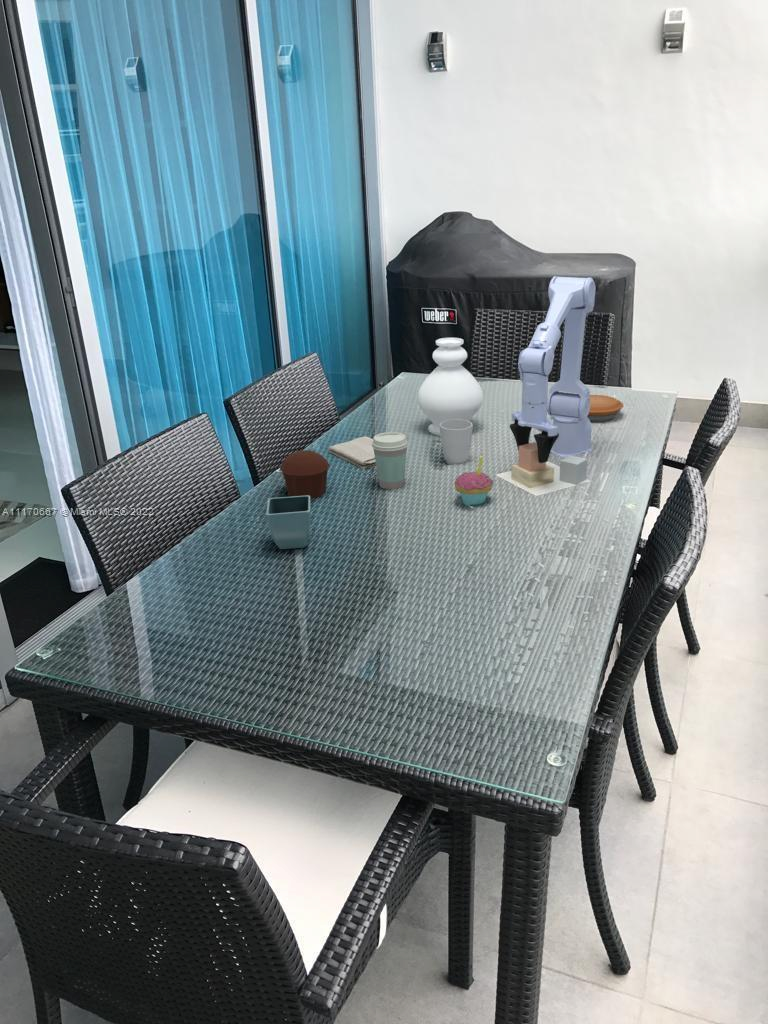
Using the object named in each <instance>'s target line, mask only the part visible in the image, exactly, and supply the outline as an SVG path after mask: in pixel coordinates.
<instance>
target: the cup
mask: <svg viewBox="0 0 768 1024" xmlns="http://www.w3.org/2000/svg"><path fill="white" fill-rule="evenodd" d="M472 425H473V422H472V421H471V420H470V421H467V420H460V419H454V420H447V421H443V422H441V423H440V435H441V436H440V442H441V443H440V444H441V447H442V452H443V456H444V460H445V462H446V464H447V465H449V466H451V465H458V464H464V463H466V462H467V461H468V458H469V455H470V453H471V452H470V451H471V445H472V438H473V437H472V435H473V430H472Z"/></svg>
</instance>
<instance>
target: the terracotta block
mask: <svg viewBox="0 0 768 1024" xmlns="http://www.w3.org/2000/svg"><path fill="white" fill-rule="evenodd" d="M517 457H518V462H517V464H518V466H519V467H521V468H523V469H525V470H527V471H530V472H531V471H535V470H539V469H543V468H546V462H544V463H539V461H538V448H537V443H536V441H534V442H529V444H525V445H521V446H519V452H518V456H517Z"/></svg>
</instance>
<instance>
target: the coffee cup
mask: <svg viewBox="0 0 768 1024" xmlns="http://www.w3.org/2000/svg"><path fill="white" fill-rule="evenodd" d="M406 437H407V436H406V435H405V434H404V433H401V432H398V431H397V432H396V431H391V432H390V431H387V432H381V433H377V434H375V435H374V436H373V438H372V439H373V442H372V447H373V449H374V455H375V461H376V471H377V478H378V483H379V484H378V485H379V486H380V487H381V488H382V489H385V490H386V489H387V490H395V489H397V490H398V489H400V488H402V487H404V484H405V473H406V463H407V462H406V461H407V450H408V449H407V448H408V446H409V443H408V440H407V438H406Z"/></svg>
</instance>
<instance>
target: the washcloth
mask: <svg viewBox="0 0 768 1024" xmlns="http://www.w3.org/2000/svg"><path fill="white" fill-rule="evenodd" d="M373 439H374V438H371V437H368V436H362V437H361V436H360V437H357V438H356V437H355V438H354V439H351V440H349V441H347V442H346V441H345V442H341V443H337V444H334V445H330V446H329V447H328V448H327V449H328V450H327V452H328V453H329V452H330V453H329V454H331V453H332V455H333V454H334V456H335V455H336V457H338V458H339V457H340V459H341V460H343V461H346V462H347V463H350V464H352V465H354V466H355V467H358V468H360V469H362V470H365V469H371V468H372V469H373V468H375V467H376V461H375V455H374V449H373V447H372V442H373ZM376 468H377V467H376Z"/></svg>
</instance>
